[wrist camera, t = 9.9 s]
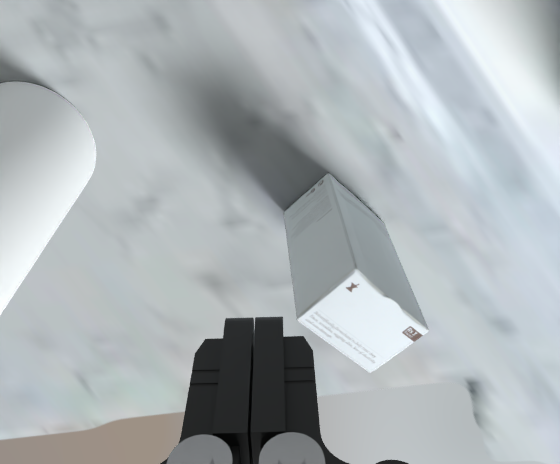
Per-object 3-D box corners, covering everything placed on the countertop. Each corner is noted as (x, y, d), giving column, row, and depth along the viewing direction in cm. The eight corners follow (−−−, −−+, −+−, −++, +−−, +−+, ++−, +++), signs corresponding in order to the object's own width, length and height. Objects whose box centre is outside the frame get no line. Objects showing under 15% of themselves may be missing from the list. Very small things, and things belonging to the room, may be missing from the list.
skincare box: (282, 210, 49) (285, 319, 36) (331, 167, 47) (352, 266, 34) (343, 263, 52) (367, 379, 39) (392, 225, 50) (433, 335, 37)
